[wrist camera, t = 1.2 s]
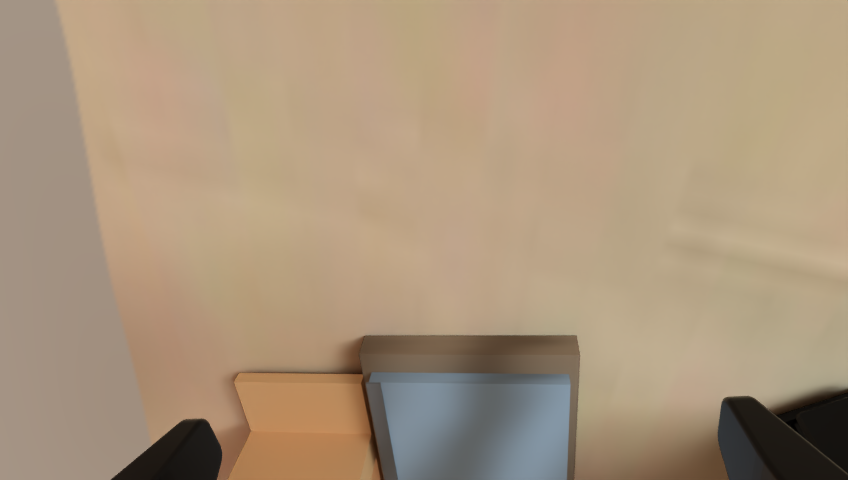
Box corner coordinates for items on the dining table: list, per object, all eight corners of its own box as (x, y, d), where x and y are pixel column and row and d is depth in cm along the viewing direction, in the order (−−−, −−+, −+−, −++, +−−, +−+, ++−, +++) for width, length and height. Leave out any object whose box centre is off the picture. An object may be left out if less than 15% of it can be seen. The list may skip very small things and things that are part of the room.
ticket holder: (576, 335, 23) (582, 367, 22) (568, 518, 29) (572, 554, 28) (364, 335, 25) (355, 365, 23) (397, 510, 31) (391, 543, 29)
